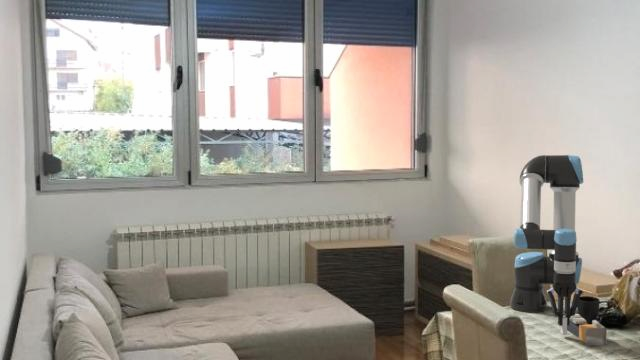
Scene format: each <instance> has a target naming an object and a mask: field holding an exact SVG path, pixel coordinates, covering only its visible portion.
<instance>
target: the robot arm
mask: <svg viewBox="0 0 640 360" xmlns="http://www.w3.org/2000/svg"><path fill="white" fill-rule="evenodd" d="M583 174H584V173H583V165H582V160H581V158H580V157H579V156H578V155H569V154H566V155H564V154H563V155H562V154H561V155H558V154H557V155H555V154H554V155H553V154H551V155H545V154H543V155H537V156H535V157H533V158H532V159H531V160H529V161H528V162H527V163H526V164H525V165H524V166H523V167H522V170H521V172H520V176H519V185H520V186H521V198H520V199H521V201H520V221H519V222H520V223H519V228H516V229H514V235H513V236H514V238H513V243H514V247H515V248H516V249H524V250H529V249H530V250H534V249H535V250H550V251H549V253H548V256H545V255H544V253H543V252H542V251H541V252H540V251H528V252H522V253H519V254H517V255H516V256H515V258H514V289H513V292H512V295H511V297H510V301H509V307H510V308H511V309H512V310H515V311H518V312H526V313H540V312H546V310H547V309H548V302H547V298H546V295H545V293H544V285H550V286H551V285H552V286H551V288H550V289H546V291H545V292H546V294H547V295H548V298H549V302H550V306H551V310H552V314H553V315H554V316H556V317H557V325H558V326H560V331H559V332H560V334H561V335H562V336H567V334H568V331H567V326H569V324H570V320H571V319H570V318H571V316H574V315H575V314H577V313H576V312H577V305H578V302H579V298H580V297H581V296H582V294H583V290H581V289H580V288H579V287H578V288H577V285H579V282H580V279H581V273H582V266H583V259H582V257H579V255H580V254H579V252H578V251H577V232H576V198H577V197H576V196H577V195H576V192H577V191H578V190H579V189H581V188H580V185H582V184H584V175H583ZM544 184H549V187H550V189H551V190H552V192H553V224H552V226H553V227H552V228H553V229H541V209H542V208H541V206H542V205H541V203H542V202H541V201H542V187H543V186H544ZM555 293H556V295H557V304H556V299H555ZM573 293H574V295H573ZM572 295H573V296H572ZM572 297H573V298H572ZM571 299H572V300H571ZM571 301H572V302H571Z"/></svg>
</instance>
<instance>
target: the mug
mask: <svg viewBox="0 0 640 360" xmlns="http://www.w3.org/2000/svg"><path fill="white" fill-rule="evenodd" d="M602 303H603V304H604V303H605V304H606V303H607V307H606V309H605V311H604V312H602V314H601V316H602V315H604V316H605V315H606V314H607V312H608V311H609V309H610V307H611V302H610V301H608V300H601V301H600V299H599V298H598V297H594V296H589V295H581V296H580V298H579V302H578V305H577V309H576V311H577V314H579V315H580V316H581V317H582V318H584V319H585V320H586V321H587V324H588V325H590V324H592V320H596V321H597V322H600V321H601V320H600V317H601V316H599V312H600V305H601V304H602Z"/></svg>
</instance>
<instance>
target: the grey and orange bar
mask: <svg viewBox="0 0 640 360" xmlns="http://www.w3.org/2000/svg"><path fill="white" fill-rule="evenodd" d="M586 328H597V327H596V326H594V325H592V324H588V325H579V326H578V325H577V324H575V323H574V322H573V321H572V319H570V324H569V326H567V332H569V333H570V334H572V335H574V337H577V339H579V340H581V341H582V342H584V343H585V337H586Z"/></svg>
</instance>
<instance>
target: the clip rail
mask: <svg viewBox="0 0 640 360" xmlns="http://www.w3.org/2000/svg"><path fill="white" fill-rule="evenodd" d="M570 320H571V321H572V322H574V323H575V324H577V325H578V326H579V325H589V324H587V321H586V320H585V319H584V318H582V317H581V316H580V315H579V314H578V313H575V315H574V316H571V318H570ZM592 325H594V326H596V327H597V328H586V337H585V342H584V343H585V346H607V336H608V335H607V330H608V329H607V328H606V327H605V326H604V325H602V324H601V323H600V321H598V322H597V321H596V320H592Z"/></svg>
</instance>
